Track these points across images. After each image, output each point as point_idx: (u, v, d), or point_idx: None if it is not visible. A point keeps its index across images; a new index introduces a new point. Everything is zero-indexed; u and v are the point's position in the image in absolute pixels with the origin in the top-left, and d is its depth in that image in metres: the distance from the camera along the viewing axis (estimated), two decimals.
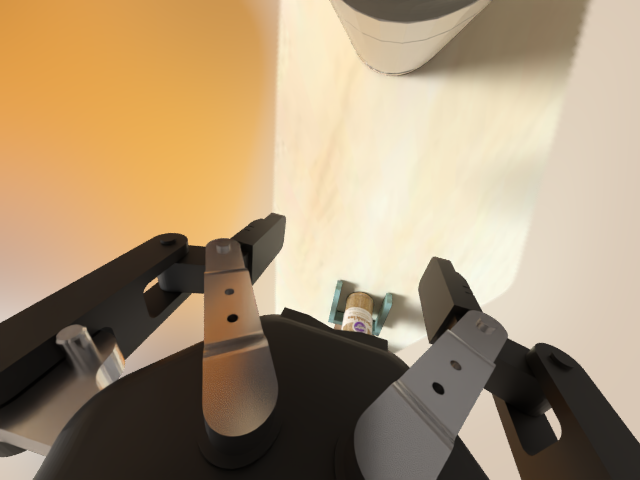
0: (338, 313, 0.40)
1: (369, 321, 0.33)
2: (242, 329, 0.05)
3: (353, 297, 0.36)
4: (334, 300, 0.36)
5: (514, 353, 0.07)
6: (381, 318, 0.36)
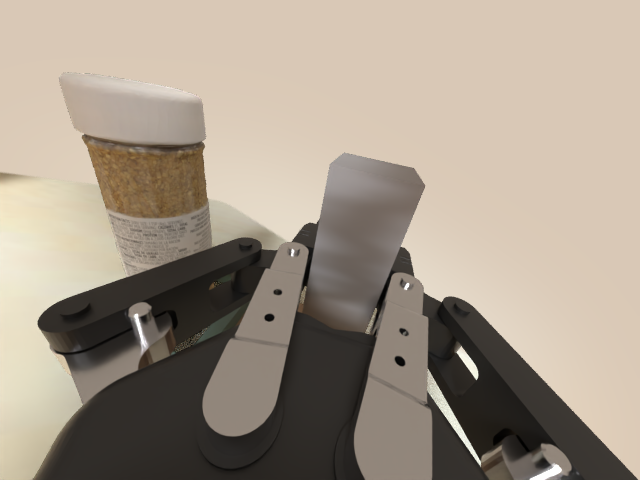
0: None
1: None
2: (272, 332, 0.05)
3: None
4: None
5: (429, 306, 0.08)
6: None
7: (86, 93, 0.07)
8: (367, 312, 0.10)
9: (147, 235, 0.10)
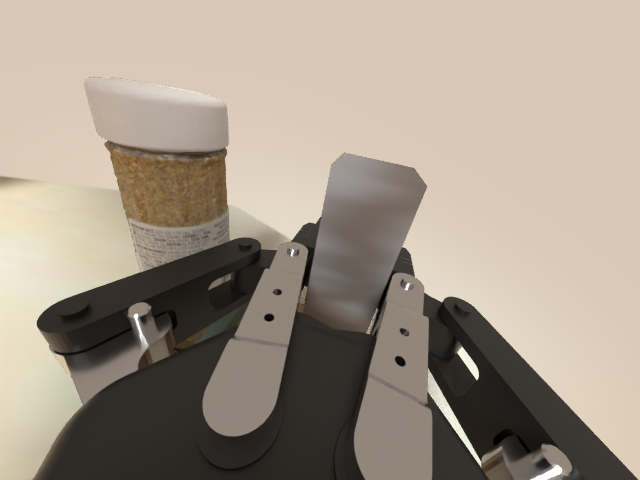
0: None
1: None
2: (272, 332, 0.05)
3: None
4: None
5: (430, 306, 0.08)
6: None
7: (116, 100, 0.07)
8: (368, 312, 0.10)
9: (171, 245, 0.10)
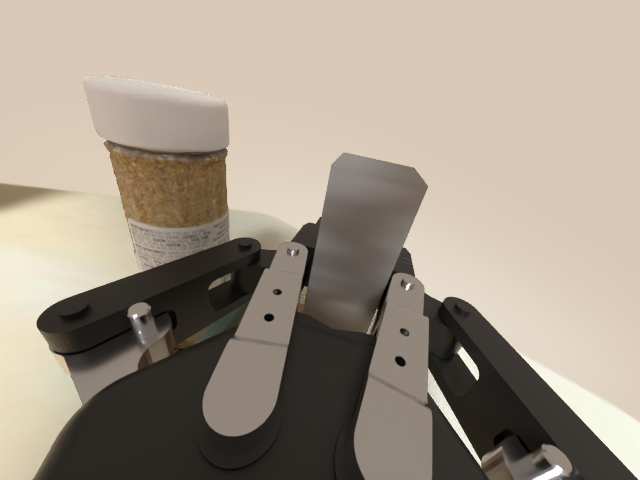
0: None
1: None
2: (272, 332, 0.05)
3: None
4: None
5: (430, 306, 0.08)
6: None
7: (116, 99, 0.07)
8: (368, 313, 0.10)
9: (170, 245, 0.10)
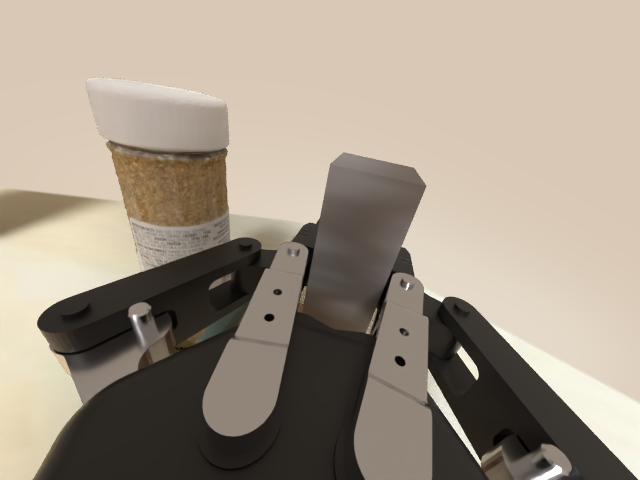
0: None
1: None
2: (272, 331, 0.05)
3: None
4: None
5: (429, 306, 0.08)
6: None
7: (117, 100, 0.07)
8: (367, 313, 0.10)
9: (171, 244, 0.10)
